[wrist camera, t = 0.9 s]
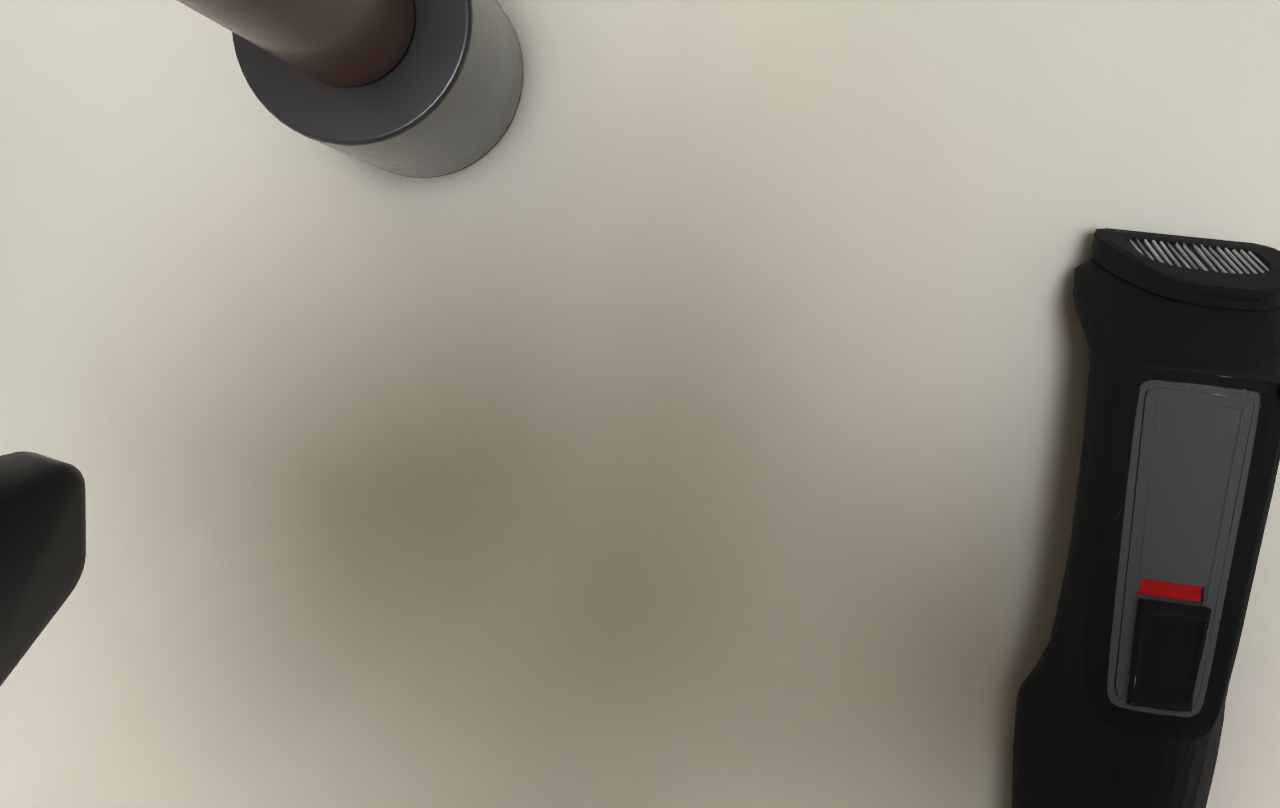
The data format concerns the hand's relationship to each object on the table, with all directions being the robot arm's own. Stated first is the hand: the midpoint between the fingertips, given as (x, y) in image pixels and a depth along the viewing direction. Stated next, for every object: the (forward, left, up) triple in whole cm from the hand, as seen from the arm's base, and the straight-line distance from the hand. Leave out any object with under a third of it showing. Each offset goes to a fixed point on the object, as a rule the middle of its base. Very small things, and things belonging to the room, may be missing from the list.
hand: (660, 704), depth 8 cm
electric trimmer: (+1, -8, -14) cm, 16 cm away
